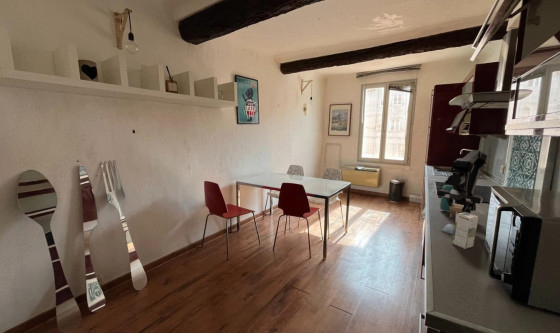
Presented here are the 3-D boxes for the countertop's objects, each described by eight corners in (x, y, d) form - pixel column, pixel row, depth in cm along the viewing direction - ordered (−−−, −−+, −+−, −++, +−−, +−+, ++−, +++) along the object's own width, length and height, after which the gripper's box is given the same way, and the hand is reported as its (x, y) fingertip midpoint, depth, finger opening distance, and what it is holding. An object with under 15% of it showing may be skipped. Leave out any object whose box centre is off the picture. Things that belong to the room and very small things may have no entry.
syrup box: (459, 241, 107) (463, 211, 104) (474, 247, 102) (478, 216, 99) (451, 243, 105) (455, 213, 102) (465, 249, 100) (470, 217, 97)
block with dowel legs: (452, 213, 129) (453, 203, 128) (463, 216, 125) (465, 205, 124) (448, 217, 124) (449, 206, 123) (459, 219, 120) (461, 209, 119)
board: (448, 225, 124) (448, 223, 124) (469, 230, 117) (469, 229, 117) (441, 230, 117) (441, 229, 117) (463, 237, 110) (463, 235, 110)
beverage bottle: (454, 213, 140) (458, 181, 137) (442, 213, 141) (446, 181, 138) (448, 210, 146) (453, 179, 143) (437, 209, 148) (441, 178, 144)
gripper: (435, 182, 124) (431, 210, 126) (480, 189, 109) (475, 220, 112) (441, 179, 131) (438, 205, 133) (485, 185, 117) (480, 214, 119)
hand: (456, 211), depth 124 cm, fingers closed on block with dowel legs, 5 cm apart
